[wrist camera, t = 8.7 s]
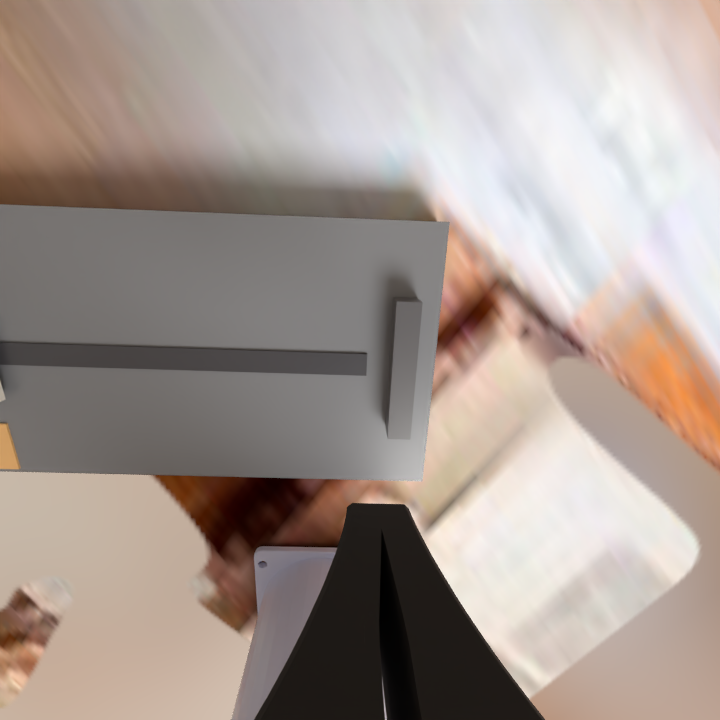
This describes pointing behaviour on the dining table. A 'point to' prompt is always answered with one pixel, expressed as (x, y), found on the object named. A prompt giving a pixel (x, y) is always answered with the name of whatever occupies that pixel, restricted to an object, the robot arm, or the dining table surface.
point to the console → (217, 343)
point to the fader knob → (1, 393)
